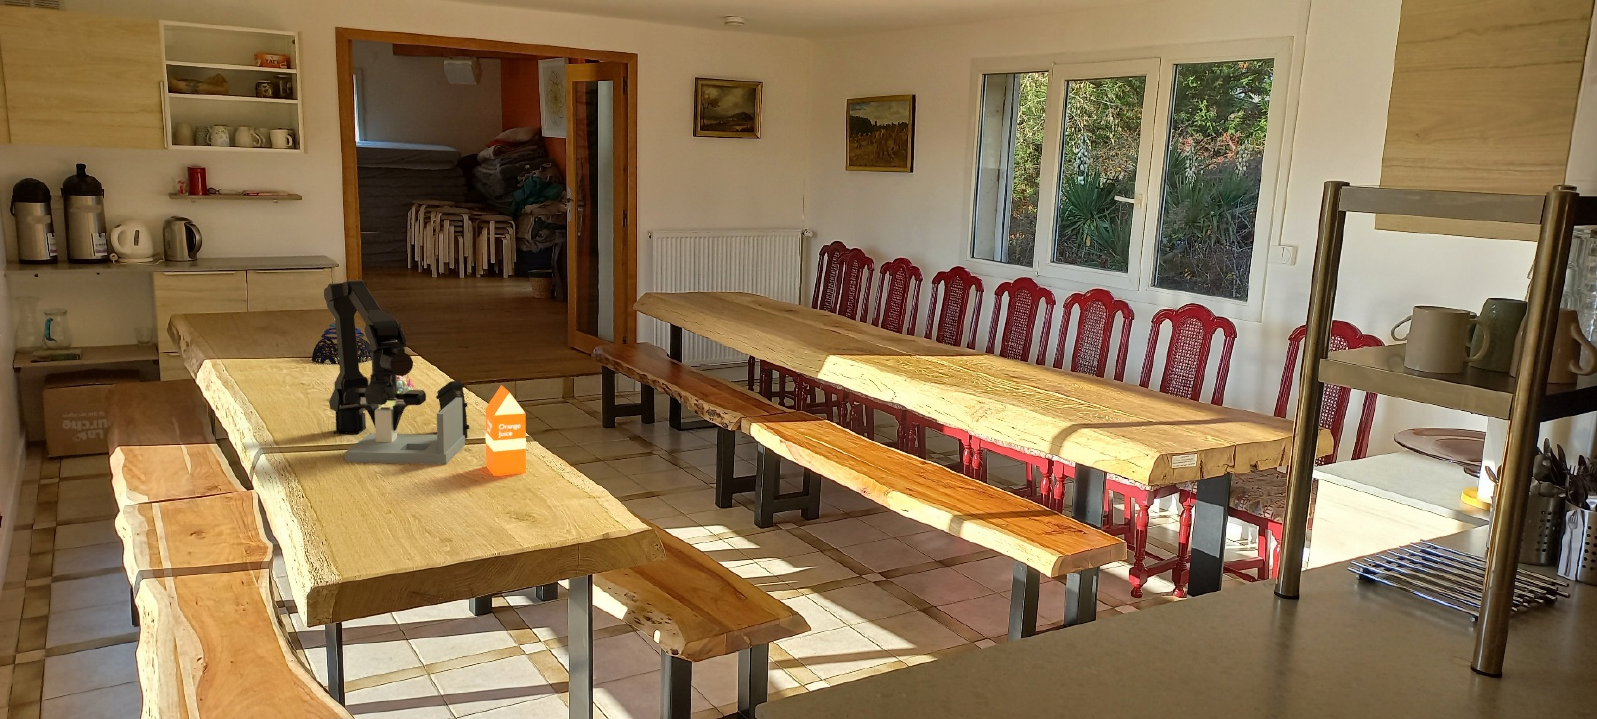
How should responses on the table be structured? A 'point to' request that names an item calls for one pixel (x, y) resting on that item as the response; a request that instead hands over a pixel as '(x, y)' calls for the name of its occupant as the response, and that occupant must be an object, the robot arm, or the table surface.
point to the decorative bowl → (322, 347)
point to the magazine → (449, 394)
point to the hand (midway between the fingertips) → (386, 430)
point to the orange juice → (505, 435)
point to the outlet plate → (416, 442)
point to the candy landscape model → (402, 388)
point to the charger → (384, 424)
